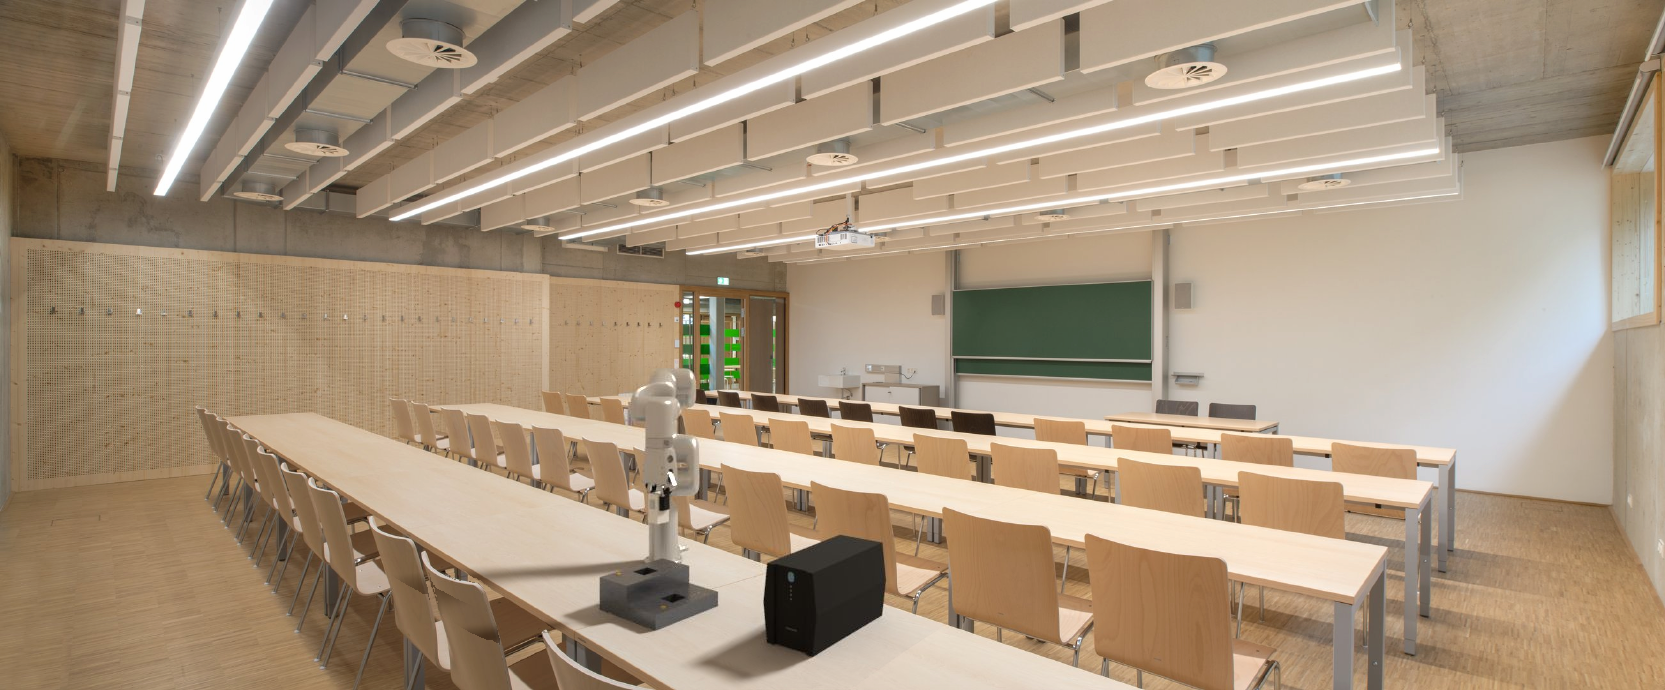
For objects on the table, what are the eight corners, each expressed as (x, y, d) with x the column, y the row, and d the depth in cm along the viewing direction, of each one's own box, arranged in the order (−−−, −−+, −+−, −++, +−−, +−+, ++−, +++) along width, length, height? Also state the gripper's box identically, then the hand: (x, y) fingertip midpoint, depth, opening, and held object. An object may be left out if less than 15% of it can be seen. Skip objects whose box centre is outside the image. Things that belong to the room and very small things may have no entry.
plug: (659, 519, 207) (660, 491, 207) (668, 521, 204) (669, 492, 204) (646, 522, 203) (646, 493, 203) (655, 524, 201) (656, 495, 201)
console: (662, 587, 220) (662, 557, 220) (718, 605, 206) (718, 572, 206) (599, 609, 203) (599, 575, 203) (655, 630, 188) (655, 594, 188)
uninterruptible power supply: (763, 642, 182) (763, 561, 181) (839, 602, 209) (839, 532, 209) (816, 658, 172) (816, 574, 172) (889, 614, 200) (889, 541, 200)
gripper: (689, 444, 202) (689, 510, 202) (651, 439, 212) (651, 502, 212) (667, 447, 196) (667, 515, 196) (629, 442, 206) (629, 507, 206)
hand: (659, 508), depth 204 cm, fingers closed on plug, 4 cm apart
